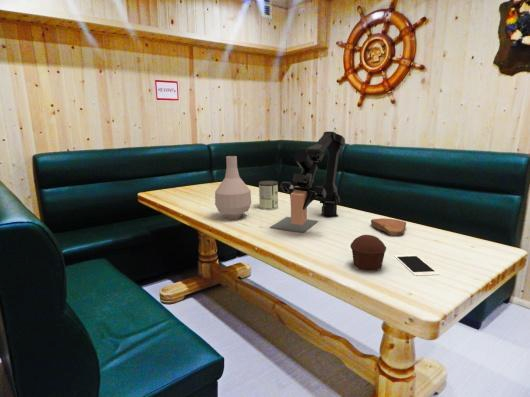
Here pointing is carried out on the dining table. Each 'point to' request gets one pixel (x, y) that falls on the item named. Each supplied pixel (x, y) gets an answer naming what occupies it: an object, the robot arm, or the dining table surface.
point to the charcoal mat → (293, 225)
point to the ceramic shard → (389, 226)
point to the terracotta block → (298, 207)
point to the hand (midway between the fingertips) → (297, 208)
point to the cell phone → (416, 265)
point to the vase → (232, 192)
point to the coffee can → (268, 195)
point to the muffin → (368, 252)
